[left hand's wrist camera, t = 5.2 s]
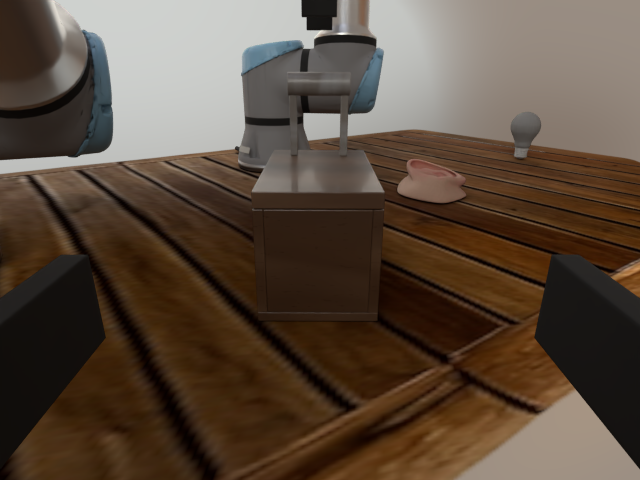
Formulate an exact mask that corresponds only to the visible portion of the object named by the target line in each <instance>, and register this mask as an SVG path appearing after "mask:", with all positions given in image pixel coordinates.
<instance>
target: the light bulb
mask: <svg viewBox="0 0 640 480" xmlns="http://www.w3.org/2000/svg"><path fill="white" fill-rule="evenodd" d="M540 128H541V121H540V119H539V117H538V116H537V115H536V114H534V113H531V112H524V113H521V114H519V115H517V116H516V117H515V118H514V119H513V121H512V123H511V132H512V135H513V137H514V140H515V154H514V156H515V157H517V158H518V159H523V158H525V157H527V156H526V155H527V151H528V148H529V147H530V145H531V142H532V140H533V139H534V138H535V137H536V135H537V134H538V133H539V131H540Z"/></svg>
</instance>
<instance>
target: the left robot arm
mask: <svg viewBox="0 0 640 480" xmlns="http://www.w3.org/2000/svg"><path fill="white" fill-rule="evenodd" d="M111 105H112V93H111V83H110V74H109V67H108V60H107V55H106V50H105V46H104V43H103V41H102V39H101V38H100V37H99V36H98V35H96V34H95V33H90V32H87V31H85V30H81V28H80V26H79V24H78V23H77V22H76V20H75V19H74V18H73V16H72V15H71V14H70V13H69V12H68V11H67V10H66V9H64V8H63V7H62V6H61V5H60V4H58V3H57V2H55V1H54V0H0V160H10V159H25V158H41V157H56V156H68V157H78V156H80V155H83V154H92V153H100V152H102V151H104V150H106V149H107V148H108V147H109V146H110V144H111V141H112V136H113V112H112V107H111ZM1 258H2V251H1V248H0V260H1ZM105 338H106V337H105V332H104V328H103V323H102V318H101V313H100V309H99V304H98V299H97V294H96V290H95V285H94V280H93V275H92V271H91V266H90V261H89V256H88V255H60V256H59V257H57V258H56V259H55V260H53V261H52V262H50V263H49V264H48V265H46V266H45V267H43V268H42V269H41V270H39V271H38V272H36V273H35V274H34V275H32V276H31V277H29V278H28V279H27V280H25V281H24V282H22V283H21V284H20V285H18V286H17V287H15V288H14V289H13V290H11V291H10V292H8V293H7V294H6V295H4V296H3V297H1V298H0V469H1V468H2V466H3V465H4V464H5V463H6V461H7V460H8V459H9V458H10V456H11V455H12V454H13V453H14V451H15V450H16V449H17V448H18V446H19V445H20V444H21V443H22V441H23V440H24V439H25V438H26V436H27V435H28V434H29V433H30V431H31V430H32V429H33V428H34V426H35V425H36V424H37V423H38V421H39V420H40V419H41V418H42V416H43V415H44V414H45V413H46V411H47V410H48V409H49V408H50V406H51V405H52V404H53V403H54V401H55V400H56V399H57V398H58V396H59V395H60V394H61V393H62V391H63V390H64V389H65V388H66V386H67V385H68V384H69V383H70V381H71V380H72V379H73V378H74V376H75V375H76V374H77V373H78V371H79V370H80V369H81V368H82V366H83V365H84V364H85V363H86V361H87V360H88V359H89V358H90V357H91V355H92V354H93V353H94V352H95V350H96V349H97V348H98V347H99V345H100V344H101V343H102V342H103V340H104V339H105ZM534 338H535V339H536V340H537V342H538V343H539V344H540V345H541V347H542V348H543V349H544V350H545V352H546V353H547V354H548V355H549V357H550V358H551V359H552V360H553V361H554V363H555V364H556V365H557V366H558V368H559V369H560V370H561V371H562V373H563V374H564V375H565V376H566V378H567V379H568V380H569V381H570V383H571V384H572V385H573V386H574V388H575V389H576V390H577V391H578V393H579V394H580V395H581V396H582V398H583V399H584V400H585V401H586V403H587V404H588V405H589V406H590V408H591V409H592V410H593V411H594V413H595V414H596V415H597V416H598V418H599V419H600V420H601V421H602V423H603V424H604V425H605V426H606V428H607V429H608V430H609V431H610V433H611V434H612V435H613V436H614V438H615V439H616V440H617V441H618V443H619V444H620V445H621V446H622V448H623V449H624V450H625V451H626V453H627V454H628V455H629V456H630V458H631V459H632V460H633V461H634V463H635V464H636V465H637V466H638V468H639V469H640V298H639V297H637V296H636V295H634V294H633V293H632V292H630V291H629V290H627V289H626V288H625V287H623V286H622V285H620V284H619V283H618V282H616V281H615V280H613V279H612V278H611V277H609V276H608V275H606V274H605V273H604V272H602V271H601V270H599V269H598V268H597V267H595V266H594V265H592V264H591V263H590V262H588V261H587V260H585V259H584V258H583V257H581V256H580V255H552V256H551V261H550V266H549V271H548V275H547V280H546V285H545V290H544V294H543V299H542V304H541V309H540V313H539V318H538V323H537V328H536V332H535V337H534Z"/></svg>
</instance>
